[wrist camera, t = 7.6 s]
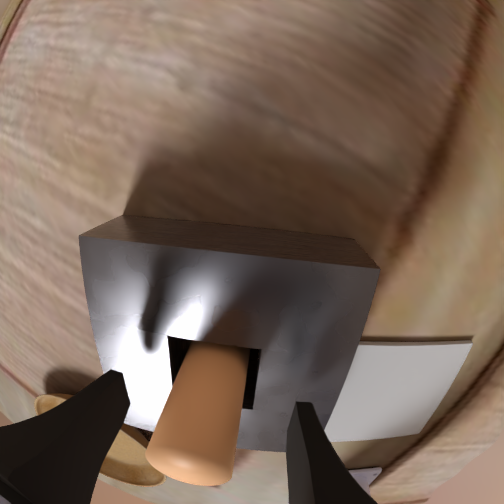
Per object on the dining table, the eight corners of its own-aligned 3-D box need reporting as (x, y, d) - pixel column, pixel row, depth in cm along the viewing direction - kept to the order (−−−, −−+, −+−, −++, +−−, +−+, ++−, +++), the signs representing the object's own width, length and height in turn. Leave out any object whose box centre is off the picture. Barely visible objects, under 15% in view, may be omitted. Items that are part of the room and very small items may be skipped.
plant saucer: (71, 443, 25) (63, 457, 22) (27, 359, 20) (13, 374, 17) (180, 480, 24) (175, 498, 21) (162, 406, 19) (152, 430, 17)
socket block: (309, 407, 18) (313, 452, 14) (140, 382, 18) (119, 421, 14) (354, 239, 14) (380, 269, 10) (122, 215, 14) (78, 235, 10)
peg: (251, 352, 16) (232, 489, 8) (201, 347, 17) (154, 475, 8) (253, 308, 15) (231, 454, 7) (198, 304, 16) (135, 436, 7)
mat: (417, 430, 18) (418, 433, 18) (310, 438, 19) (310, 441, 18) (470, 340, 15) (473, 343, 15) (346, 340, 16) (348, 344, 15)
